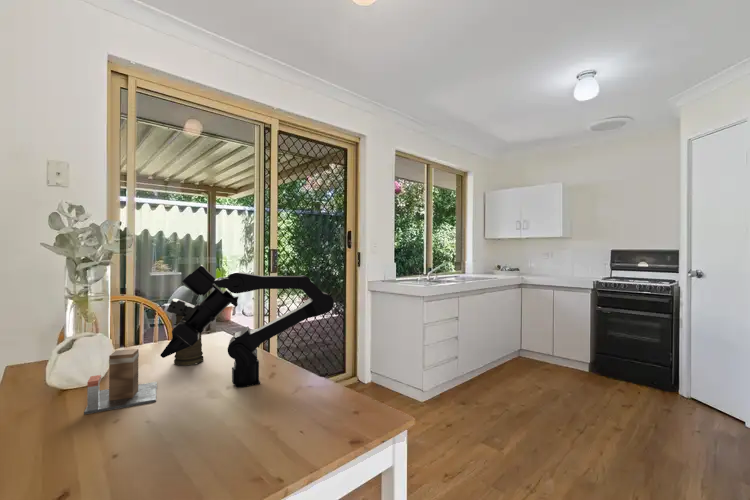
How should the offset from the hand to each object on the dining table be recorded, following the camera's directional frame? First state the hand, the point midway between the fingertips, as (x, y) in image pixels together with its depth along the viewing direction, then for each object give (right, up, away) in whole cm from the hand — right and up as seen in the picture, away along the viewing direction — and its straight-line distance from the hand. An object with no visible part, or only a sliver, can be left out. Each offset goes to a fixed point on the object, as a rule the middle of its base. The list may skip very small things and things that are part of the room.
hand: (165, 351), depth 95 cm
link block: (-8, -10, -3) cm, 14 cm away
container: (-7, -11, +26) cm, 29 cm away
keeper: (-8, -11, -3) cm, 14 cm away
